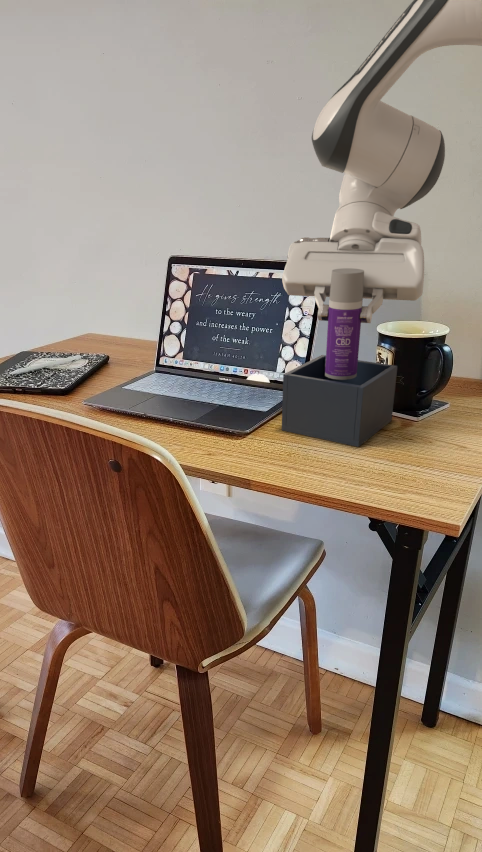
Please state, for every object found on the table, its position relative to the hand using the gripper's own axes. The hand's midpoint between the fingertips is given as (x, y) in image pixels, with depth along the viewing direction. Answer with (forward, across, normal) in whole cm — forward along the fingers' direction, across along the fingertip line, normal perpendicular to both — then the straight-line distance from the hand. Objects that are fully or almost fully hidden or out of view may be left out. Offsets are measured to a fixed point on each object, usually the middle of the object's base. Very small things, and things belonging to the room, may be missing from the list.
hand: (344, 319), depth 98 cm
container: (+6, 0, +6) cm, 9 cm away
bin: (+11, 0, +12) cm, 16 cm away
